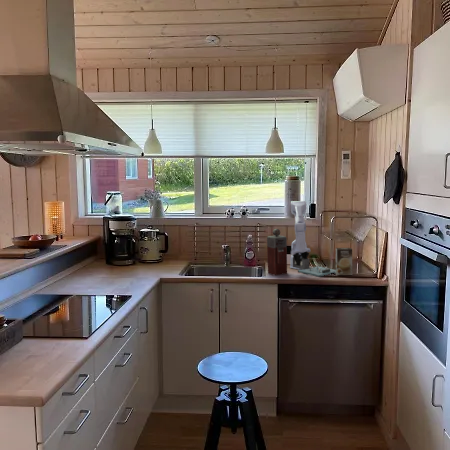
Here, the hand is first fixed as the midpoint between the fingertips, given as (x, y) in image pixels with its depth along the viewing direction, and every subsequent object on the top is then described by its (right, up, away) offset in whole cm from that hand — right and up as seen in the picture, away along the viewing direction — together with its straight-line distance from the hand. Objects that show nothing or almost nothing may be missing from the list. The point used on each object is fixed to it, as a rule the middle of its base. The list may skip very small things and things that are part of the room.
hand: (300, 264), depth 271 cm
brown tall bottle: (-12, -6, +9) cm, 17 cm away
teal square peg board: (+13, -5, +9) cm, 16 cm away
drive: (0, -2, 0) cm, 2 cm away
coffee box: (+26, -6, 0) cm, 27 cm away
